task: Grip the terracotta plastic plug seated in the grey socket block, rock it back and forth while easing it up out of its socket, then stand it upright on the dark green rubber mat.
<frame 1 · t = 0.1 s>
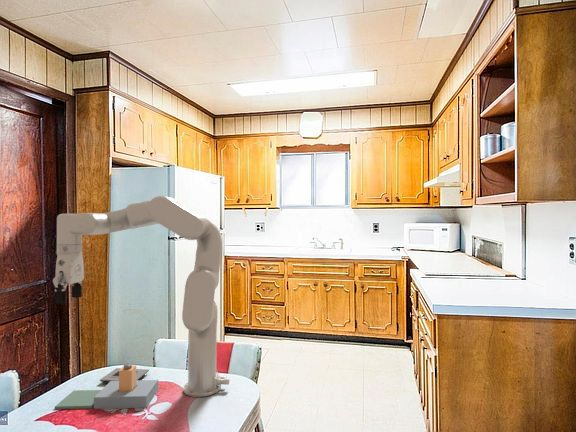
hand: (69, 300, 126), 31 cm above the table, tool pointing down, fingers open, 9 cm apart
grey socket block: (127, 399, 121), on the table
mat: (82, 400, 120), on the table
plug: (127, 382, 121), in the grey socket block
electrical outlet: (125, 380, 137), on the table
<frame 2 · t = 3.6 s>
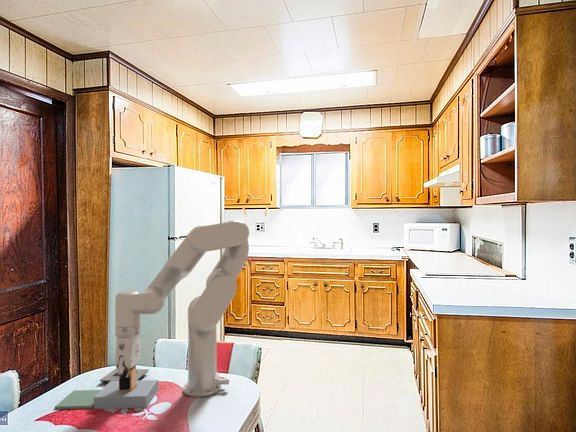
hand: (127, 385, 121), 4 cm above the table, tool pointing down, fingers closed on plug, 4 cm apart
plug: (127, 382, 121), in the grey socket block, touching gripper
everything else where it was.
when the fingers open (6 cm above the table, at t = 11.0 s): plug stays where it is, resting on mat.
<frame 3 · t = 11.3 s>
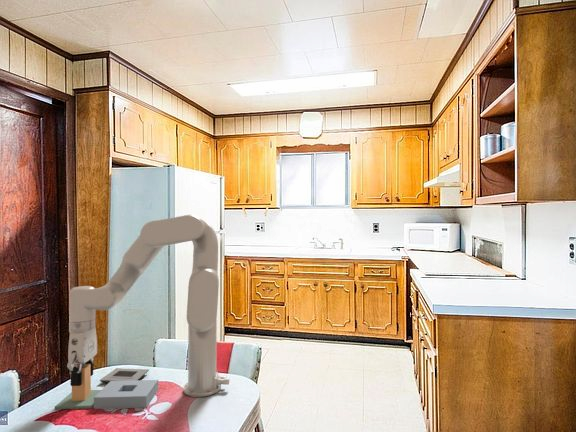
hand: (82, 380, 120), 6 cm above the table, tool pointing down, fingers open, 6 cm apart
plug: (81, 380, 120), on the mat, point 6 cm above the table
everything else where it was.
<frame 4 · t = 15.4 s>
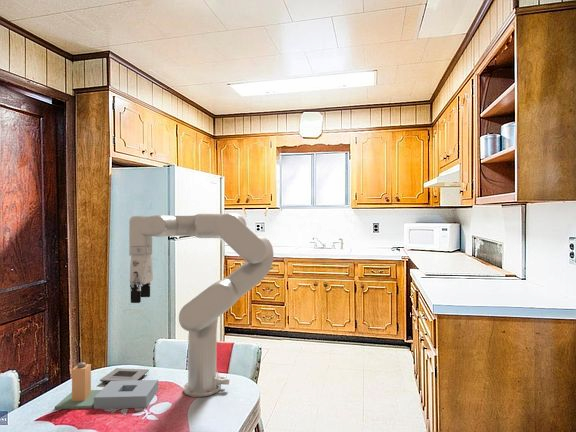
hand: (140, 299, 130), 30 cm above the table, tool pointing down, fingers open, 9 cm apart
nothing on the table moved.
at the end: plug inside the target area on the mat (0.2 cm from its centre), point 6.3 cm above the mat's base; plug tilted 0°; the gripper is holding nothing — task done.
